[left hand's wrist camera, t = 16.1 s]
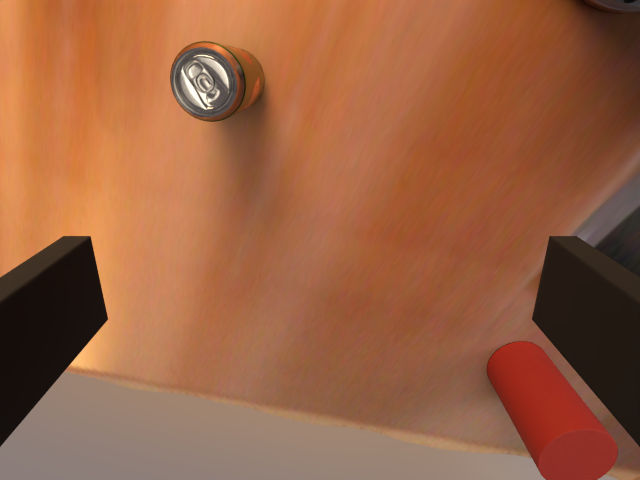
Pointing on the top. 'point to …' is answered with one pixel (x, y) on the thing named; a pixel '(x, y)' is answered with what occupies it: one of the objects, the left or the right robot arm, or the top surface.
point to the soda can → (215, 80)
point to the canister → (550, 415)
